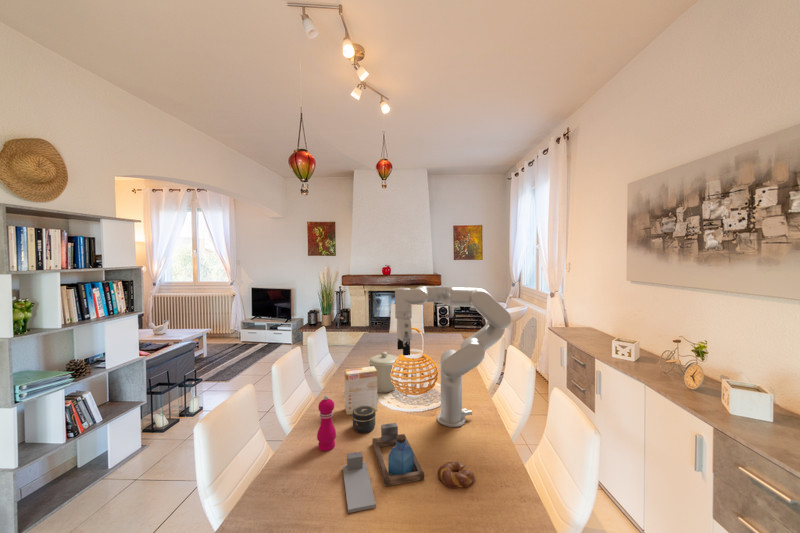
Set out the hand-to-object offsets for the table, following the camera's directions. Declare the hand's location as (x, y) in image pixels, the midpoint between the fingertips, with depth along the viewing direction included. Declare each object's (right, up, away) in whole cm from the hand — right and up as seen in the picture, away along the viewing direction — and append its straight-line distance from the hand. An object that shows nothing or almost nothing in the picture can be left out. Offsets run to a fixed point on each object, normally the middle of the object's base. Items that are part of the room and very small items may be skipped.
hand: (403, 352), depth 144 cm
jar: (-17, -31, -8) cm, 36 cm away
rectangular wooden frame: (-3, -31, -31) cm, 44 cm away
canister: (-10, -30, +33) cm, 46 cm away
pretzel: (+17, -31, -40) cm, 54 cm away
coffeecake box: (-21, -31, +9) cm, 38 cm away
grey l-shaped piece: (-15, -31, -44) cm, 56 cm away
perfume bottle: (-1, -31, -37) cm, 48 cm away
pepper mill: (-30, -31, -22) cm, 48 cm away
